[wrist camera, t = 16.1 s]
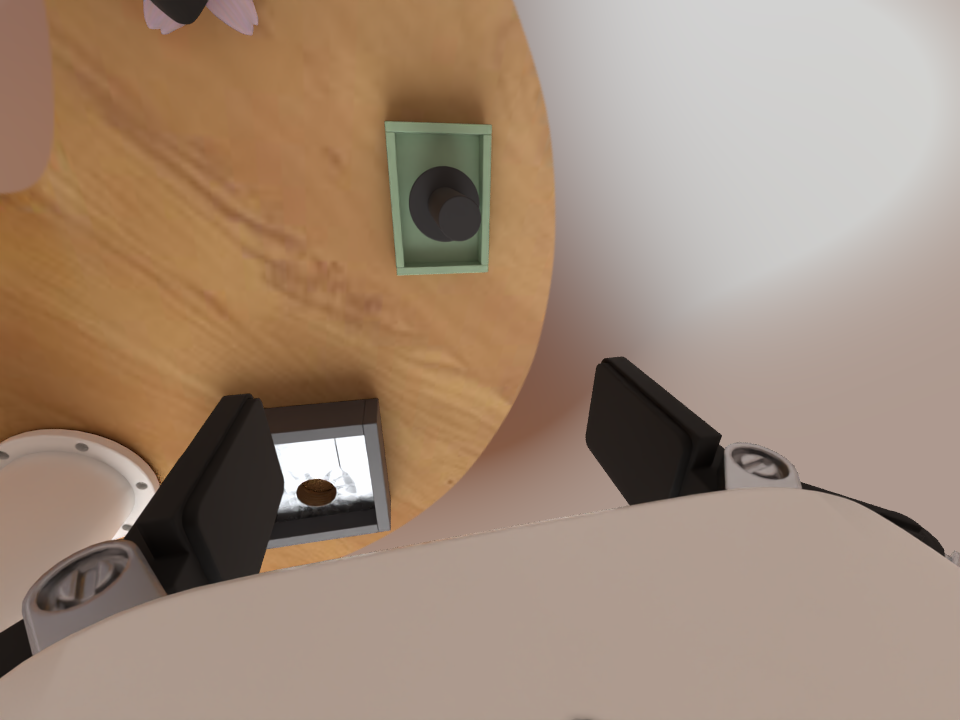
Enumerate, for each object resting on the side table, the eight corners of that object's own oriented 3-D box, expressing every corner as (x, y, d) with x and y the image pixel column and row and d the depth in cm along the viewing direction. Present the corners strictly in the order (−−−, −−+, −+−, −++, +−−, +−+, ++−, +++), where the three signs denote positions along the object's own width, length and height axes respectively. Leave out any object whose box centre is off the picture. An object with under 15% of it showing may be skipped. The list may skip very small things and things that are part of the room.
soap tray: (483, 265, 33) (488, 272, 31) (396, 268, 32) (397, 275, 30) (485, 126, 29) (492, 124, 27) (385, 123, 27) (384, 120, 25)
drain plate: (270, 513, 41) (264, 528, 39) (241, 421, 35) (233, 435, 34) (379, 498, 43) (378, 512, 41) (366, 409, 37) (365, 422, 36)
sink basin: (259, 518, 41) (246, 552, 37) (222, 412, 35) (203, 440, 31) (390, 500, 43) (390, 530, 40) (378, 397, 37) (376, 422, 34)
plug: (410, 236, 30) (416, 266, 22) (405, 165, 28) (410, 167, 20) (473, 235, 31) (502, 263, 23) (473, 165, 29) (506, 168, 21)
